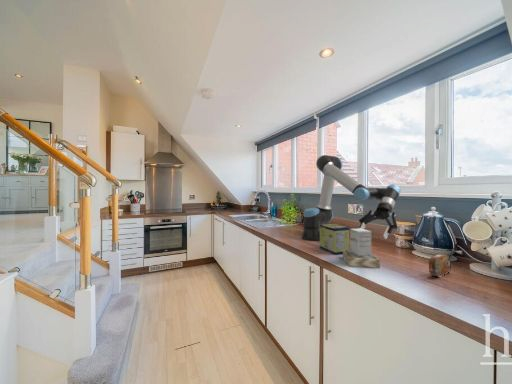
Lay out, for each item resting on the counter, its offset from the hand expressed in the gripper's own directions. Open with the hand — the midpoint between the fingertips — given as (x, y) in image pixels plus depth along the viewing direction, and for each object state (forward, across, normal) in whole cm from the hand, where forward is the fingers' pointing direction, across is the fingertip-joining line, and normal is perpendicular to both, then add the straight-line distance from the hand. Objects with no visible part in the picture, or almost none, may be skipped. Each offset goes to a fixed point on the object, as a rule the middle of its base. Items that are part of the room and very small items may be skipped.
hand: (371, 235), depth 113 cm
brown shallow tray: (+17, 0, -1) cm, 17 cm away
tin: (+7, -28, -11) cm, 31 cm away
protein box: (+13, +20, -5) cm, 25 cm away
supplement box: (+14, 0, +2) cm, 14 cm away
